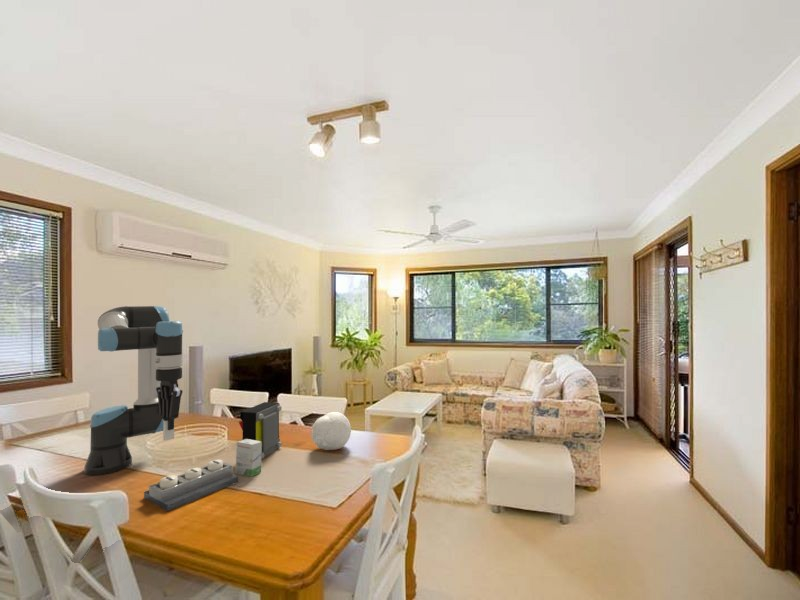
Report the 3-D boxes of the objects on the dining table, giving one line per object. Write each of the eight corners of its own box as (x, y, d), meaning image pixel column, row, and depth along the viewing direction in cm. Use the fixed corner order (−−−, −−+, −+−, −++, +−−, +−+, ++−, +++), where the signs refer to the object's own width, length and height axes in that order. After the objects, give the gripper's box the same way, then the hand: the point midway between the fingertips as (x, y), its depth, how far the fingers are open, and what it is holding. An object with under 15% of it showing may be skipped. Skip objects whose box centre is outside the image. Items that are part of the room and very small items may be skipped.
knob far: (204, 474, 137) (204, 462, 137) (218, 469, 141) (218, 457, 141) (212, 477, 134) (212, 465, 134) (225, 472, 138) (225, 460, 139)
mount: (143, 498, 125) (143, 482, 126) (214, 472, 145) (214, 458, 146) (167, 511, 116) (167, 495, 117) (238, 481, 137) (238, 467, 137)
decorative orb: (362, 446, 170) (362, 411, 171) (335, 460, 155) (335, 421, 156) (329, 439, 181) (329, 405, 181) (301, 451, 166) (301, 414, 166)
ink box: (235, 473, 144) (235, 442, 144) (246, 468, 149) (245, 437, 149) (251, 477, 140) (251, 445, 141) (262, 471, 145) (262, 440, 145)
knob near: (156, 492, 124) (156, 478, 124) (172, 486, 128) (172, 473, 128) (164, 496, 121) (164, 482, 121) (180, 489, 125) (180, 476, 125)
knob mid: (182, 483, 130) (182, 470, 130) (196, 477, 134) (196, 465, 135) (189, 486, 128) (189, 474, 128) (204, 481, 132) (204, 468, 132)
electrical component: (260, 462, 154) (260, 413, 155) (238, 460, 157) (238, 411, 157) (283, 447, 171) (283, 402, 172) (263, 445, 174) (263, 402, 174)
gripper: (147, 367, 126) (147, 438, 126) (166, 370, 119) (166, 446, 118) (171, 364, 132) (171, 432, 132) (190, 367, 125) (190, 439, 125)
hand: (168, 439), depth 125 cm, fingers closed
